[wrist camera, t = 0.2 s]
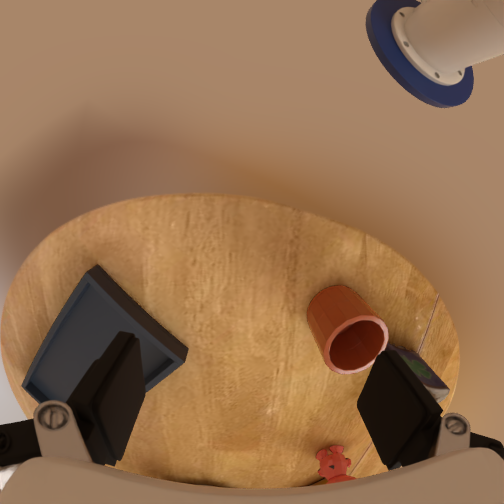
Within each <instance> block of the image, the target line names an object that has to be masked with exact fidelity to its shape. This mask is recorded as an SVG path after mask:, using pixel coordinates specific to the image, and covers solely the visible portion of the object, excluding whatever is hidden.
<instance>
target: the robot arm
mask: <svg viewBox="0 0 504 504" xmlns="http://www.w3.org/2000/svg"><path fill="white" fill-rule="evenodd" d="M421 2H422V3H421V4H420V5H419V6H417V7H416V8H414V7H404V8H401V9H399V10H398V11H397V12H396V13H395V14H394V15H393V17H392V20H391V28H392V33H393V36H394V38H395V41H396V43H397V45H398V46H399V48H400V50H401V51H402V53H403V54H404V56H405V57H406V58H407V60H408V61H409V62H410V63H411V64H412V65H413V66H414V67H415V68H416V69H417V70H418V71H419V72H420V73H421V74H423V75H424V76H425V77H427V78H428V79H430V80H431V81H433V82H435V83H438V84H440V85H445V86H449V85H454V84H456V83H458V82H460V81H461V80H462V78H463V76H464V72H465V68H466V67H469V66H472V65H474V64H477V63H480V62H482V61H485V60H488V59H491V58H494V57H497V56H500V55H504V0H421ZM145 393H146V389H145V382H144V374H143V367H142V358H141V349H140V340H139V338H136V337H135V334H134V333H129V332H124V331H119V332H118V333H117V335H116V336H115V338H114V339H113V340H112V342H111V343H110V344H109V346H108V347H107V349H106V350H105V351H104V353H103V354H102V356H101V357H100V359H96V360H95V361H94V362H93V363H92V365H91V366H90V367H89V369H88V370H87V372H86V373H85V375H84V376H83V377H82V379H81V380H80V382H79V383H78V385H77V386H76V388H75V389H74V391H73V392H72V394H71V395H70V397H69V398H68V400H67V401H66V403H64V402H62V401H57V400H49V401H45V402H43V403H41V404H40V405H38V407H37V408H36V409H35V411H34V419H29V420H25V421H21V422H15V423H9V424H3V425H0V504H504V447H503V445H502V443H501V442H500V441H497V440H495V439H492V438H488V437H485V436H482V435H478V434H475V433H472V432H470V424H469V422H468V421H467V419H466V418H465V417H463V416H462V415H460V414H457V413H448V414H446V415H444V416H443V417H441V416H440V415H441V413H442V412H443V409H442V408H441V407H440V405H439V404H438V403H437V402H436V400H435V399H434V398H433V396H432V395H431V394H430V392H429V391H428V390H427V389H426V387H425V386H424V385H423V383H422V382H421V381H420V380H419V378H418V377H417V376H416V375H415V373H414V372H413V371H412V370H411V368H410V367H409V366H408V365H407V363H406V362H405V361H404V360H403V358H402V357H401V356H400V355H399V354H398V352H397V351H396V350H383V351H382V352H381V353H380V354H378V355H377V357H376V359H375V362H374V364H373V367H372V369H371V371H370V374H369V376H368V378H367V381H366V383H365V385H364V388H363V390H362V392H361V394H360V396H359V398H358V401H357V408H358V410H359V412H360V415H361V417H362V419H363V421H364V423H365V425H366V428H367V430H368V432H369V434H370V436H371V438H372V441H373V443H374V445H375V447H376V450H377V452H378V454H379V456H380V458H381V461H382V463H383V464H384V465H386V466H387V468H388V470H389V471H388V472H384V473H380V474H376V475H372V476H368V477H363V478H359V479H354V480H348V481H343V482H337V483H330V484H323V485H315V486H305V487H293V488H273V489H244V488H223V487H211V486H201V485H193V484H186V483H179V482H173V481H168V480H162V479H157V478H152V477H147V476H143V475H138V474H134V473H130V472H126V471H123V470H118V469H114V468H111V467H107V466H104V465H105V464H108V465H111V466H114V467H115V464H116V461H117V460H119V461H120V460H121V459H122V457H123V455H124V452H125V449H126V446H127V443H128V440H129V438H130V435H131V432H132V430H133V427H134V424H135V421H136V419H137V416H138V414H139V411H140V408H141V406H142V403H143V401H144V398H145ZM401 465H402V468H400V466H401ZM396 468H398V469H396ZM393 469H395V470H393ZM390 470H392V471H390Z"/></svg>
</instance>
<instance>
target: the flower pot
mask: <svg viewBox="0 0 504 504" xmlns="http://www.w3.org/2000/svg"><path fill="white" fill-rule="evenodd" d="M307 322H308V324H309V328H310V330H311V332H312V335H313V337H314V339H315V341H316V343H317V346H318V348H319V350H320V353H321V355H322V357H323V359H324V362H325V364H326V365H327V366H328V367H329V368H330V369H331V370H332V371H334V372H337V373H340V374H354V373H357V372H359V371H362V370H365V369H367V368H368V367H369V366H371V365H372V364H373V363H374V362H375V359H376V357H377V355H378V354H380V353H381V352H382V351H383V350H385V348H386V345H387V343H388V328H387V326H386V324H385V323H384V321H383V320H382V319H381V318H380V317H379V316H378V314H377V313H376V312H375V311H374V310H373V309H372V308H371V307H370V306H369V305H368V304H367V303H366V302H365V301H364V300H363V299H362V298H361V297H360V296H359V295H358V294H357V293H356V292H355V291H354V290H352V289H351V288H349V287H346V286H341V285H337V286H331V287H328V288H326V289H324V290H322V291H321V292H319V293H318V294H317V295H316V296H315V297H314V298H313V300H312V301H311V303H310V305H309V307H308V310H307Z"/></svg>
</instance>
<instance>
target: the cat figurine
mask: <svg viewBox="0 0 504 504" xmlns="http://www.w3.org/2000/svg"><path fill="white" fill-rule="evenodd" d="M343 449H344V447H343V446H339V445H333V446H331V447H330V451H331V452H332V453H333V454H332V455H328V456H327V451H326V450H320V451H319V452H318V453H317V456H316V458H317V459H318V460H319V461H320V469H319V470H318V473H319V475H320V476H322V477H325V478H326V479H327V480H328V482H327V483H326V484H330V483H337V482H343V481H348V480H354V479H356V478H355V477H351V476H347V475H346V470H347V466H348V467H350V465H351V460H350V459H348V458H346V459H345V457H344V455H342V454H341V453H342V452H343Z"/></svg>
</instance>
